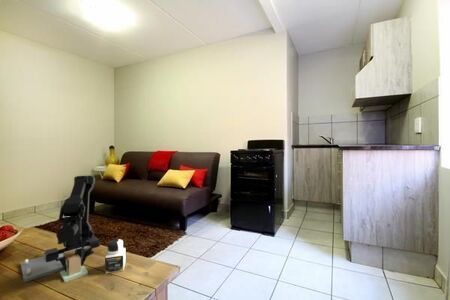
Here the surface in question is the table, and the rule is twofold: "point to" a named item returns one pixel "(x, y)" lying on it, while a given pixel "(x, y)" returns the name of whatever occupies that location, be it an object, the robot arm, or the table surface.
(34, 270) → the standoff plate
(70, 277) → the tan and green block
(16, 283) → the table surface
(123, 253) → the medicine bottle
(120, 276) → the table surface
